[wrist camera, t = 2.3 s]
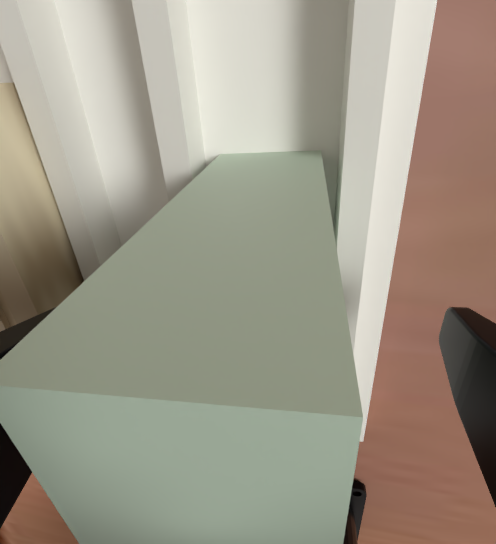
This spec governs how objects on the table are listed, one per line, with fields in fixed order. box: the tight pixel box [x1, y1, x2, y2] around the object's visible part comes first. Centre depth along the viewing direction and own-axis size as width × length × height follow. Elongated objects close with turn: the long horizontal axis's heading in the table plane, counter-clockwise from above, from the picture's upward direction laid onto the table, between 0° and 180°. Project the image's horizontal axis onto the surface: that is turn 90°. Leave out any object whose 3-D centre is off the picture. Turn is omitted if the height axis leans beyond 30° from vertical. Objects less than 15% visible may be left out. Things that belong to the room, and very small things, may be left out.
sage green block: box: [0, 150, 363, 544], centre depth 8 cm, size 6×3×9 cm, turn 4°
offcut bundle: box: [0, 83, 84, 331], centre depth 12 cm, size 11×3×4 cm, turn 4°
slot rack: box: [0, 0, 437, 442], centre depth 12 cm, size 20×15×2 cm
